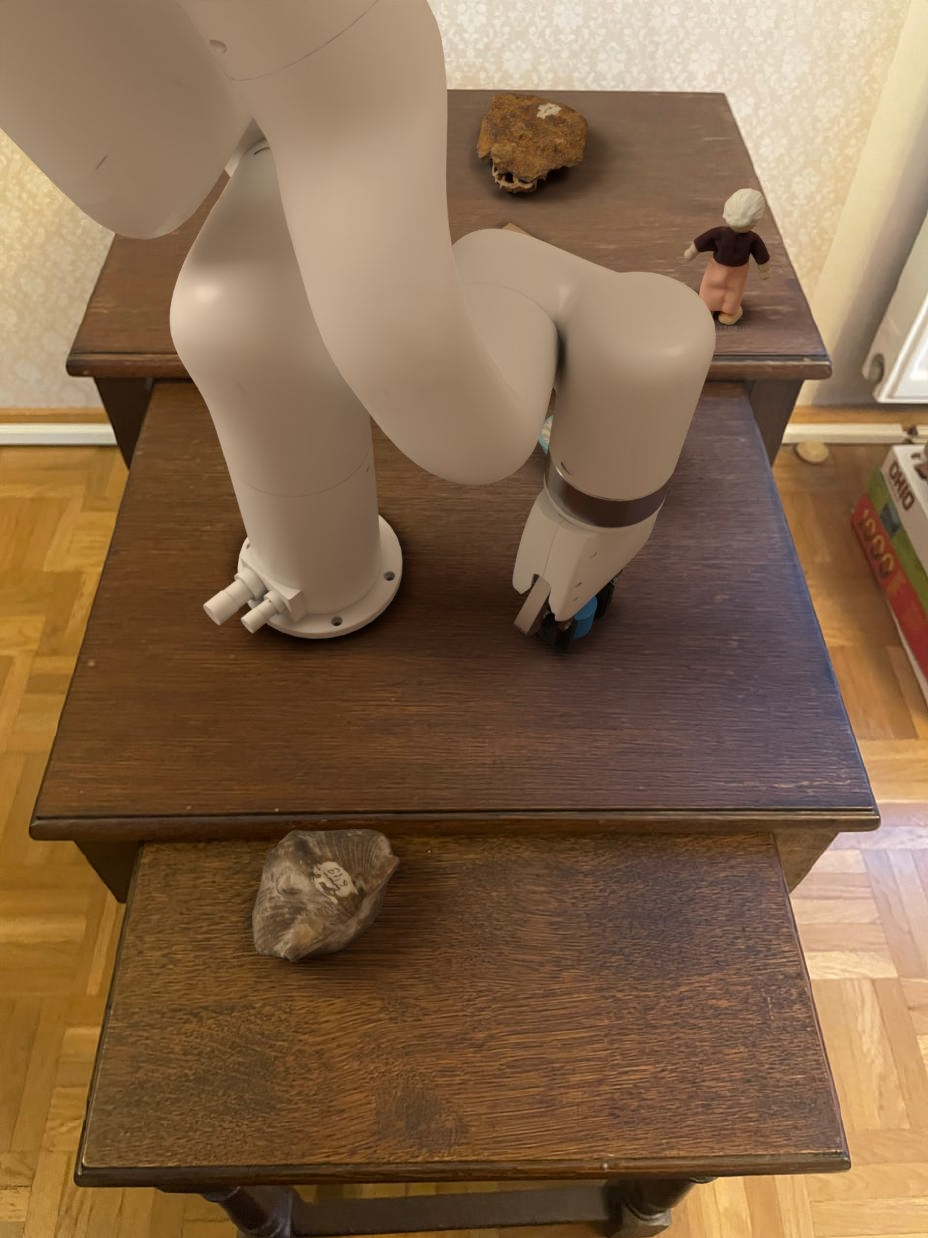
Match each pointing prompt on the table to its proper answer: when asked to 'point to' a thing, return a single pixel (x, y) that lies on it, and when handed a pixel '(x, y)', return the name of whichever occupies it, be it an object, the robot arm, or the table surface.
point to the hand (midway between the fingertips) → (571, 619)
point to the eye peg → (585, 618)
